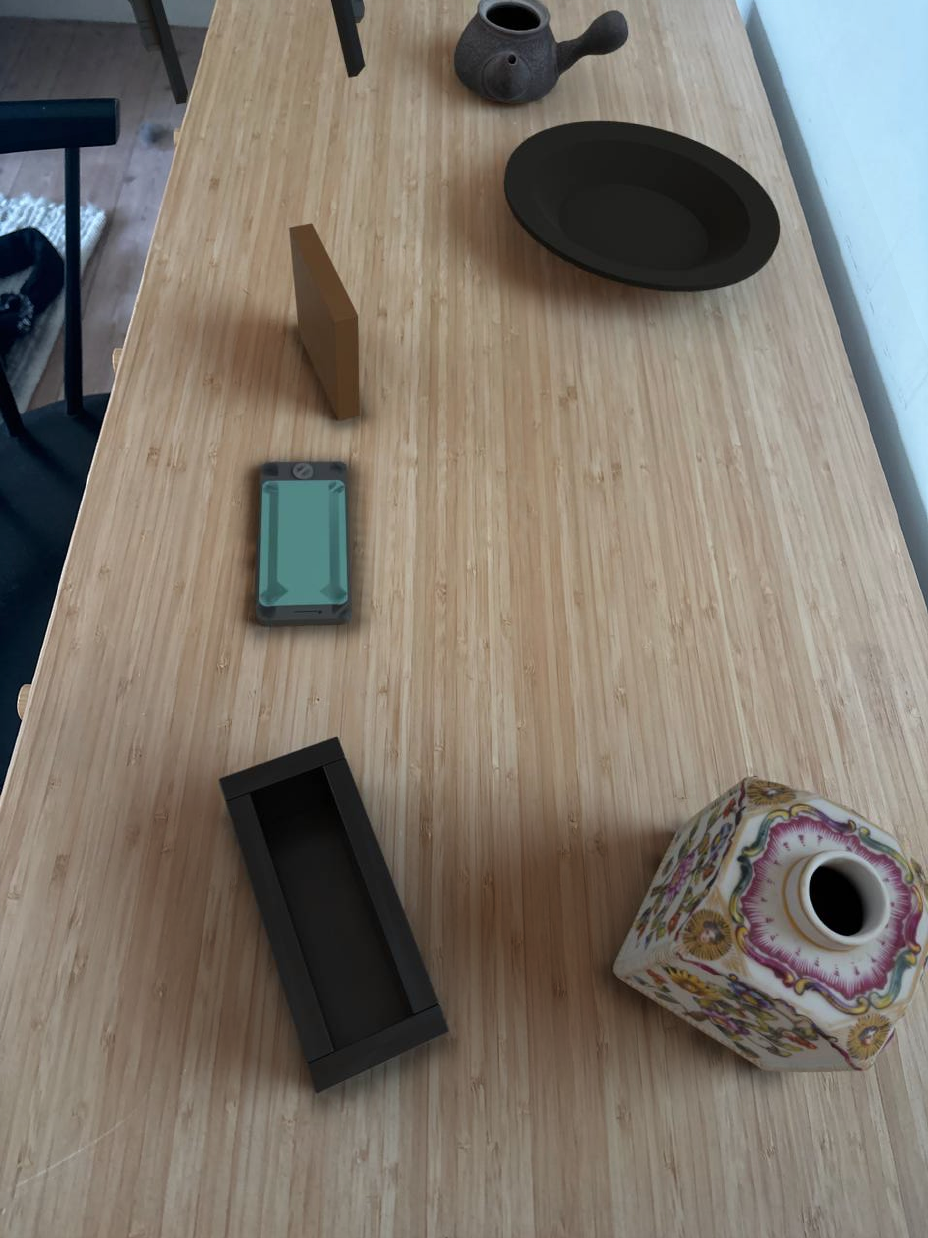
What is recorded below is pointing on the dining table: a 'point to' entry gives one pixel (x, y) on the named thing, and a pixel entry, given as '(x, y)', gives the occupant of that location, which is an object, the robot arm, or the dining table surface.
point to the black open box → (331, 914)
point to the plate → (641, 206)
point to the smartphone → (303, 544)
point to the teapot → (526, 49)
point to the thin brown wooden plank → (326, 321)
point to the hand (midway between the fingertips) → (271, 85)
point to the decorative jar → (783, 929)
